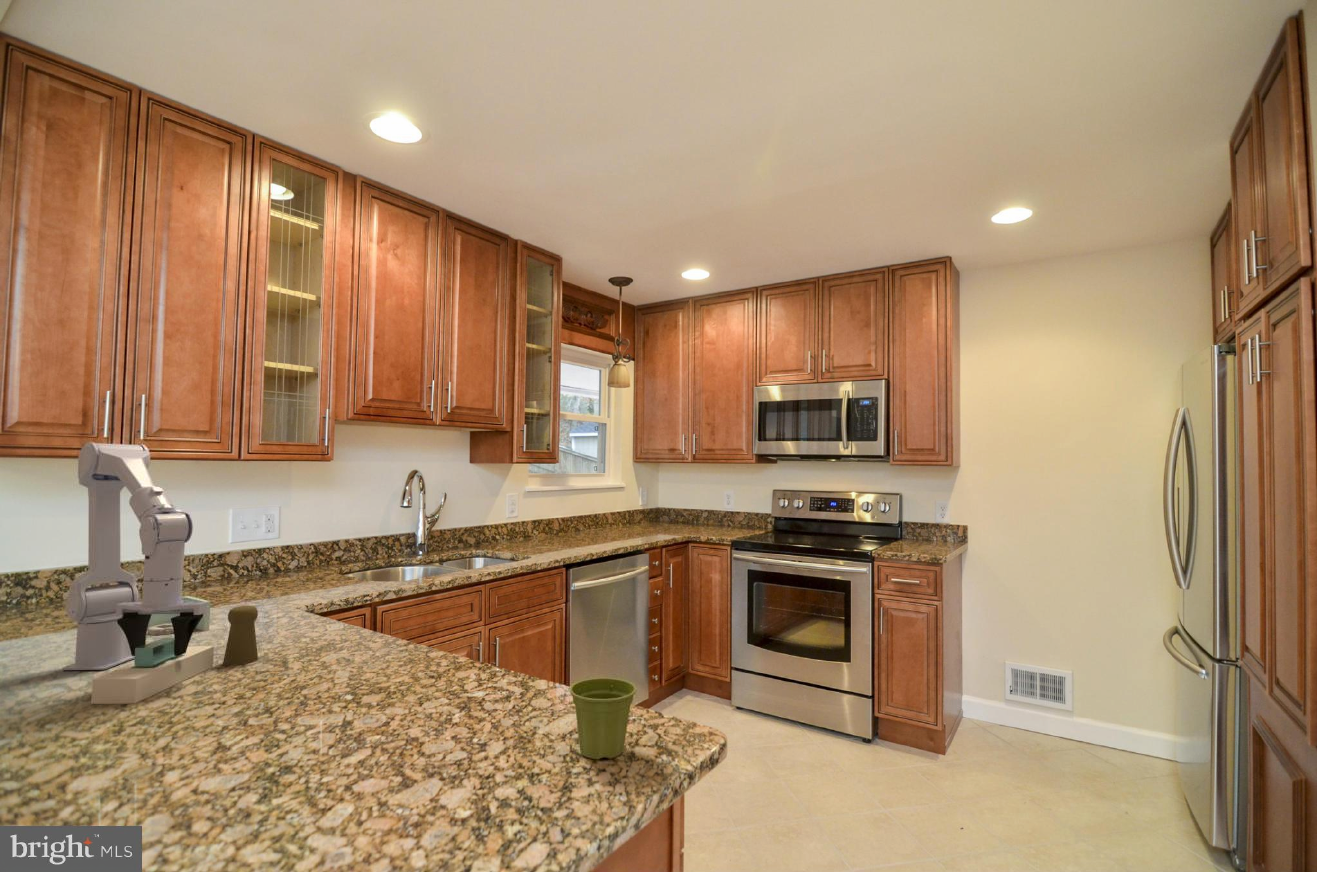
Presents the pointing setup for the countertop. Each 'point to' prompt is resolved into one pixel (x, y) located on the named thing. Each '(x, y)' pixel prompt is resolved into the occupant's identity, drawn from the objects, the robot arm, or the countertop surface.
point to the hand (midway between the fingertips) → (159, 654)
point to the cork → (241, 636)
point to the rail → (150, 677)
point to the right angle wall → (162, 622)
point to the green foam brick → (154, 653)
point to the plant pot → (602, 715)
